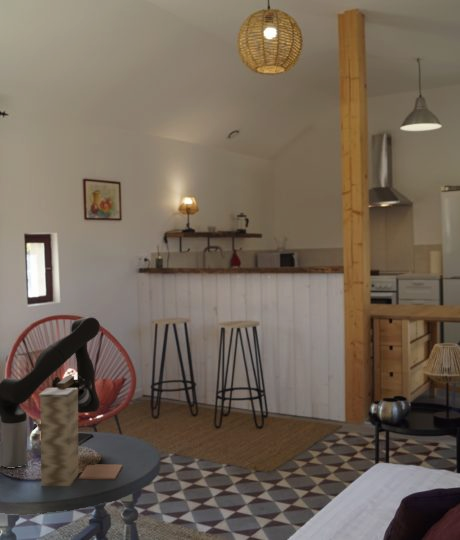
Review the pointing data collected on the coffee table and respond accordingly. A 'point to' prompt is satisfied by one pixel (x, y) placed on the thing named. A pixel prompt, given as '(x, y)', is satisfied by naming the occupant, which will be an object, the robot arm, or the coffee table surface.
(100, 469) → the tile
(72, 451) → the stand
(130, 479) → the coffee table surface
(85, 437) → the phone
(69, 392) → the turner
